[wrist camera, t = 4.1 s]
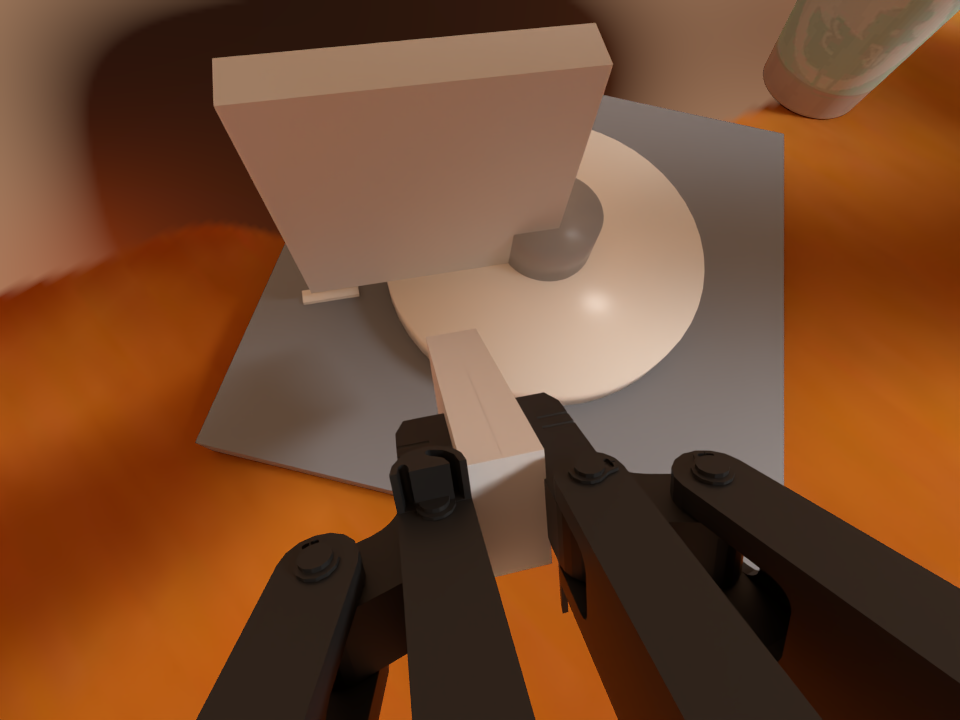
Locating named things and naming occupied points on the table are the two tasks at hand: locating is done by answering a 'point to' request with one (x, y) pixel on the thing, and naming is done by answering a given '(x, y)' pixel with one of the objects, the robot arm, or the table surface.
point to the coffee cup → (846, 50)
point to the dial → (474, 197)
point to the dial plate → (605, 422)
